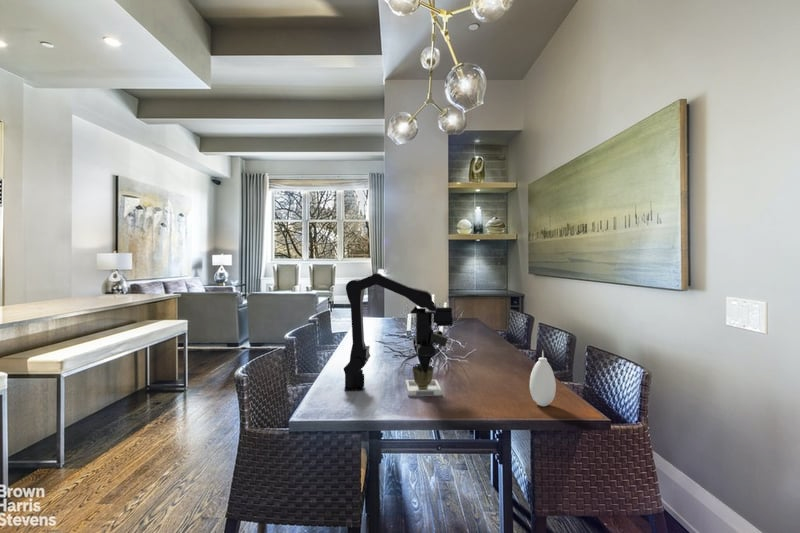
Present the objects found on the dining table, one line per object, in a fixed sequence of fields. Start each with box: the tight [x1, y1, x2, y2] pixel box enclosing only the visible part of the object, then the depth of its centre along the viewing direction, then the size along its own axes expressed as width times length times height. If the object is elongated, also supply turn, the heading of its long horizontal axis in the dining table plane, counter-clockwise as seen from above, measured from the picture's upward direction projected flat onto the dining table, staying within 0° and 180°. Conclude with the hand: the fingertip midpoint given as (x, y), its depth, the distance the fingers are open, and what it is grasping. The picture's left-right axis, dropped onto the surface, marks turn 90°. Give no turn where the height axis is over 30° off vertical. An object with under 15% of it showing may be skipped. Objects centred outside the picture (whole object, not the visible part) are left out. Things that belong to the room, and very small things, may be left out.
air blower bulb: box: [529, 350, 557, 407], centre depth 124 cm, size 8×8×18 cm
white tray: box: [405, 379, 443, 397], centre depth 137 cm, size 12×12×2 cm
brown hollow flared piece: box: [412, 364, 434, 390], centre depth 137 cm, size 8×7×8 cm
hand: (423, 368), depth 137 cm, fingers open, 9 cm apart
